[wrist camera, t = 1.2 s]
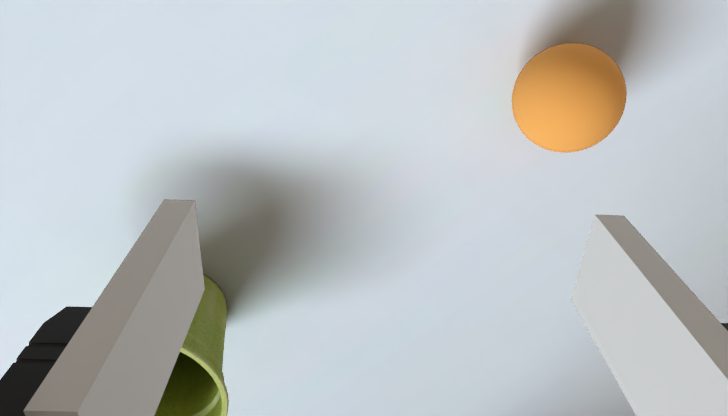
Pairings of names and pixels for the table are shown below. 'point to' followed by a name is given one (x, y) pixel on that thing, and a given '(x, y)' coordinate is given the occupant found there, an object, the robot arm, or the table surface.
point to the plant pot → (200, 362)
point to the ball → (569, 97)
